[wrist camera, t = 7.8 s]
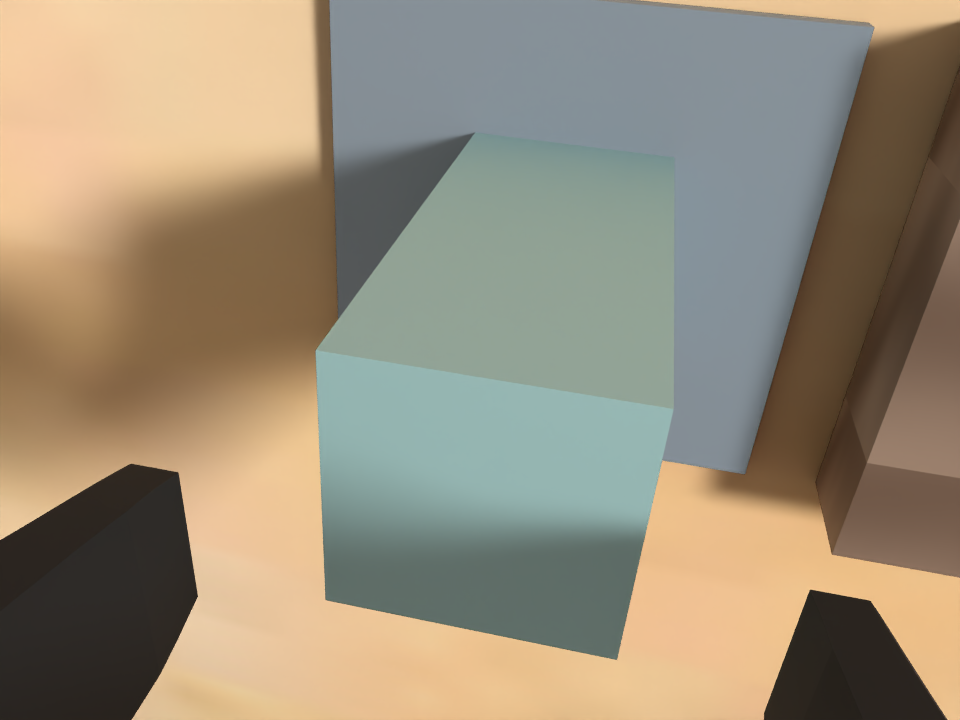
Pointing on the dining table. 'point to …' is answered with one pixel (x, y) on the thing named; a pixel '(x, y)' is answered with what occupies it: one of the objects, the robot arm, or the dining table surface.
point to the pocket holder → (907, 392)
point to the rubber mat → (617, 126)
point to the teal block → (506, 397)
